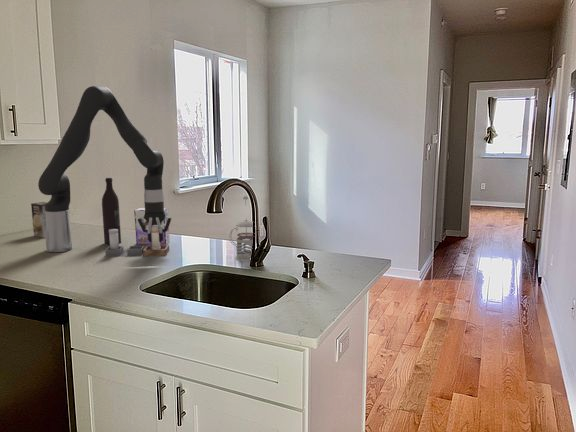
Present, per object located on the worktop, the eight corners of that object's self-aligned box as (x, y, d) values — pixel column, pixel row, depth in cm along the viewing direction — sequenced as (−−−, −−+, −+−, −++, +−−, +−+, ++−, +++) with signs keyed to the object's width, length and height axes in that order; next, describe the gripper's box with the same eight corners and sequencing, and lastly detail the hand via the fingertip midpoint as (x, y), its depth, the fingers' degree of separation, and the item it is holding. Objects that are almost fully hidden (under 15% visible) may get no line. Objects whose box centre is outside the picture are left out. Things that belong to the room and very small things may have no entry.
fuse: (109, 255, 200) (107, 230, 199) (111, 252, 204) (109, 229, 202) (118, 254, 201) (116, 230, 199) (120, 252, 204) (119, 228, 202)
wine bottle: (117, 246, 219) (113, 178, 214) (102, 246, 219) (97, 178, 214) (123, 242, 226) (119, 177, 221) (108, 242, 226) (103, 177, 221)
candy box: (170, 243, 224) (168, 207, 222) (165, 246, 219) (164, 209, 216) (140, 243, 226) (139, 207, 223) (135, 245, 220) (133, 209, 217)
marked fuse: (151, 250, 202) (149, 226, 200) (152, 248, 205) (151, 225, 204) (160, 250, 202) (158, 226, 200) (161, 248, 206) (160, 225, 204)
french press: (255, 261, 192) (254, 198, 188) (226, 260, 195) (225, 197, 190) (261, 255, 202) (260, 194, 198) (234, 254, 204) (233, 194, 200)
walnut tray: (143, 257, 199) (142, 250, 199) (147, 252, 208) (146, 245, 208) (166, 257, 200) (166, 249, 199) (169, 251, 209) (169, 244, 208)
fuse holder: (104, 258, 198) (104, 250, 197) (110, 253, 206) (109, 245, 206) (141, 257, 199) (141, 249, 199) (145, 252, 208) (145, 244, 207)
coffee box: (33, 235, 242) (30, 203, 239) (45, 233, 247) (42, 201, 244) (44, 237, 237) (41, 204, 234) (56, 235, 242) (53, 203, 240)
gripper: (134, 201, 196) (136, 244, 199) (170, 201, 197) (172, 243, 200) (137, 199, 203) (140, 240, 206) (172, 198, 205) (174, 239, 208)
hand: (155, 241), depth 203 cm, fingers closed on marked fuse, 3 cm apart
